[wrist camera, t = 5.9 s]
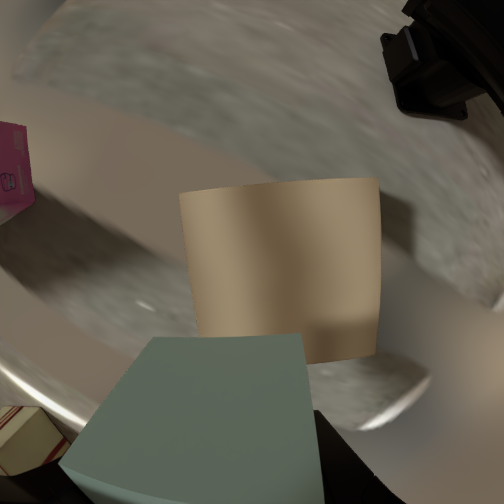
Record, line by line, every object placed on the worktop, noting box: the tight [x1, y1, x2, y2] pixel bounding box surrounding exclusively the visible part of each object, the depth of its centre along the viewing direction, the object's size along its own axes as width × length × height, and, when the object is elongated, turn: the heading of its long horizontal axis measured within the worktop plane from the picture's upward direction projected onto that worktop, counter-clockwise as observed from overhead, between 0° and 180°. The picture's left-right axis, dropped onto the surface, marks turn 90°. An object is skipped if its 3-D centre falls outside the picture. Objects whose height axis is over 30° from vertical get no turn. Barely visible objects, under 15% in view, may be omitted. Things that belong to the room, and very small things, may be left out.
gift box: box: [0, 406, 71, 476], centre depth 17 cm, size 17×18×17 cm
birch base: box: [179, 177, 381, 365], centre depth 16 cm, size 10×10×4 cm
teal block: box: [58, 333, 325, 504], centre depth 6 cm, size 5×5×6 cm
